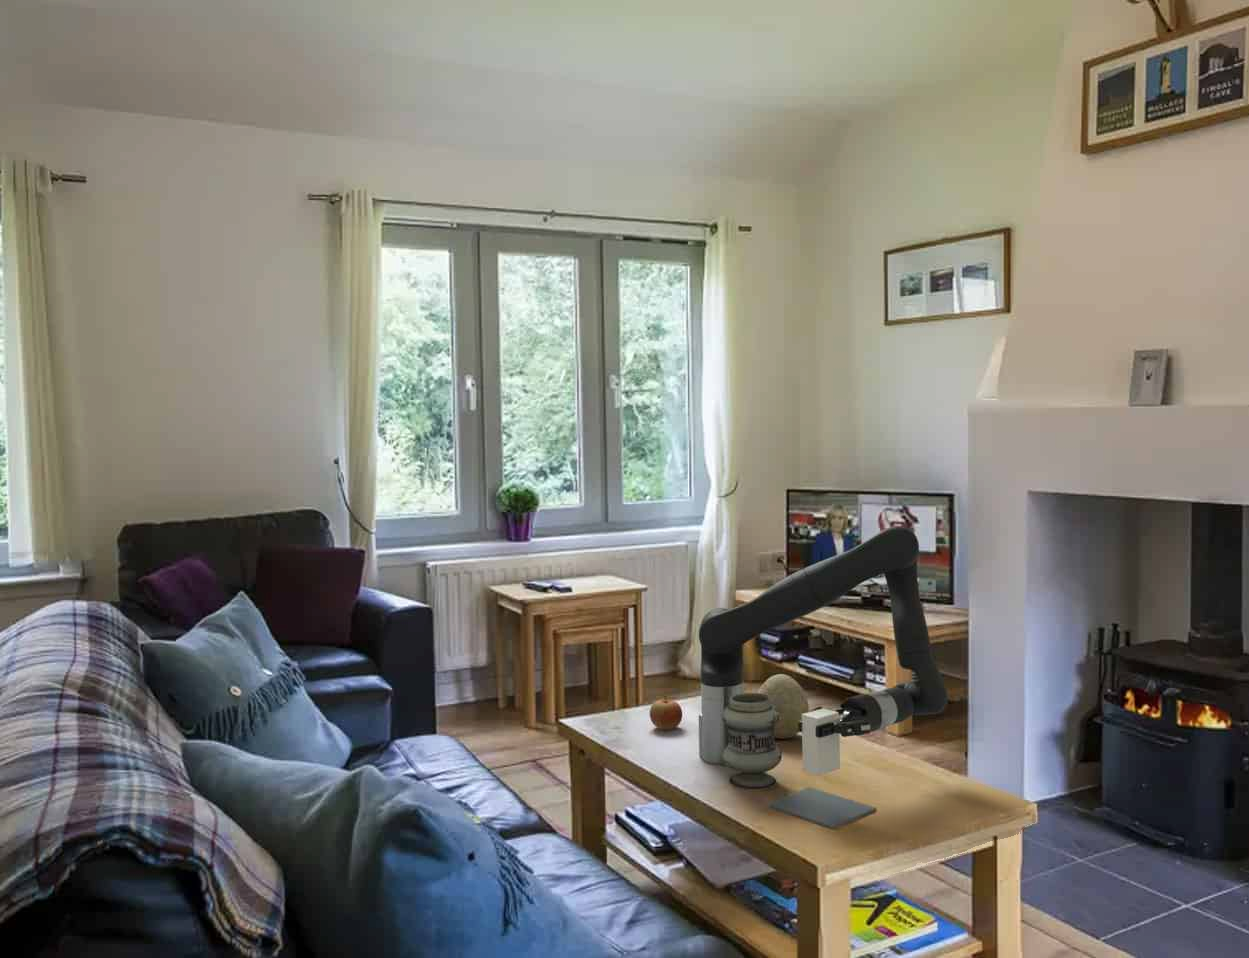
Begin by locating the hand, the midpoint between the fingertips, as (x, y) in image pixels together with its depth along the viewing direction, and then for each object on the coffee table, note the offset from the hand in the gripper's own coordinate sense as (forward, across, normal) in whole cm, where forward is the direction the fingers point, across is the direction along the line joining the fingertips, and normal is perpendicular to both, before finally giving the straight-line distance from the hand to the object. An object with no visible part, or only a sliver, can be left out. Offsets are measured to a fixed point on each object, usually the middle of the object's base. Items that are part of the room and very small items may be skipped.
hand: (808, 729), depth 200 cm
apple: (-13, -61, +16) cm, 65 cm away
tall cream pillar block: (-3, 0, +8) cm, 9 cm away
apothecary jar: (-3, -19, +16) cm, 25 cm away
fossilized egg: (-29, -38, +16) cm, 50 cm away
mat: (-3, 0, +16) cm, 16 cm away
